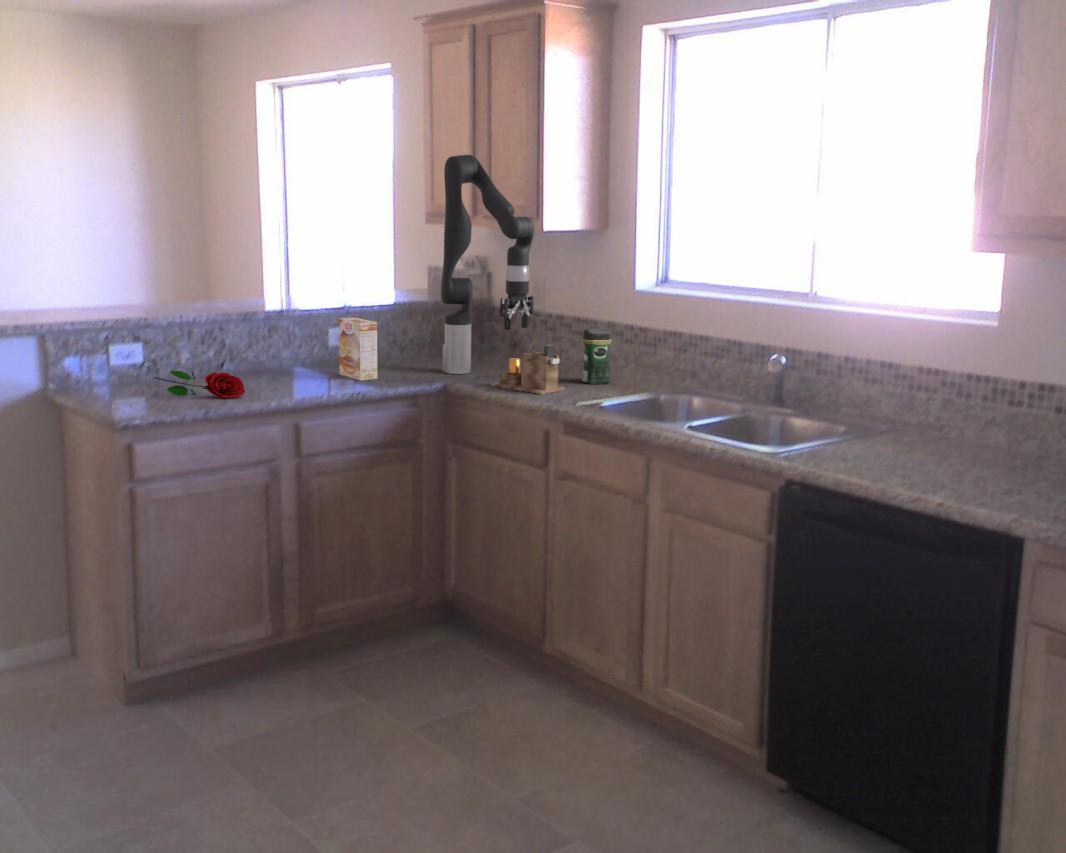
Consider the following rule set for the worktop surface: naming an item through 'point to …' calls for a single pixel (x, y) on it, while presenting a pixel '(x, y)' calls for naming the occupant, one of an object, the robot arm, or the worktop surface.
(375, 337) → the coffeecake box
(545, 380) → the mount
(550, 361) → the grey angular block
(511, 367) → the peg
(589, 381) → the coffee jar
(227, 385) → the flower
